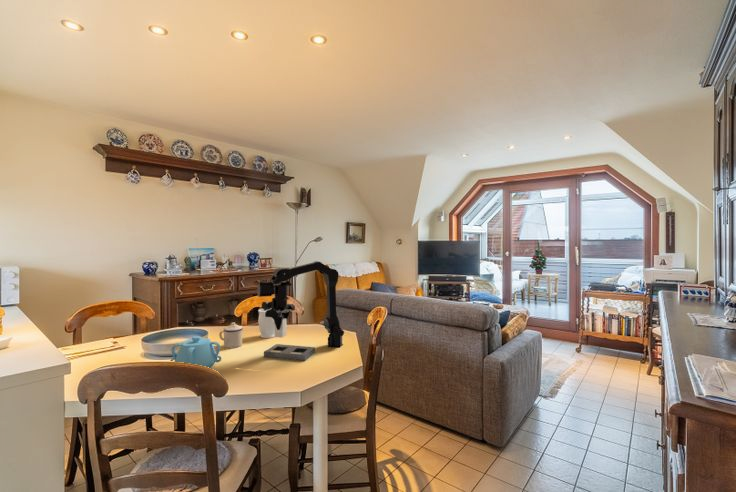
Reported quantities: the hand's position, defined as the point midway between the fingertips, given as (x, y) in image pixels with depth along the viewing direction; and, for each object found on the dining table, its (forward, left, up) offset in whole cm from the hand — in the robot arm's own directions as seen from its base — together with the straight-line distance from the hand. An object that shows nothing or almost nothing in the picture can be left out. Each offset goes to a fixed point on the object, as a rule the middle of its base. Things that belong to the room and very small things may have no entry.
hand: (280, 328), depth 160 cm
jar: (+21, -27, -13) cm, 37 cm away
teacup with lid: (+31, -7, -13) cm, 34 cm away
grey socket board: (-5, 0, -12) cm, 13 cm away
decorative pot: (+25, +25, -13) cm, 38 cm away
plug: (0, 0, -4) cm, 4 cm away
